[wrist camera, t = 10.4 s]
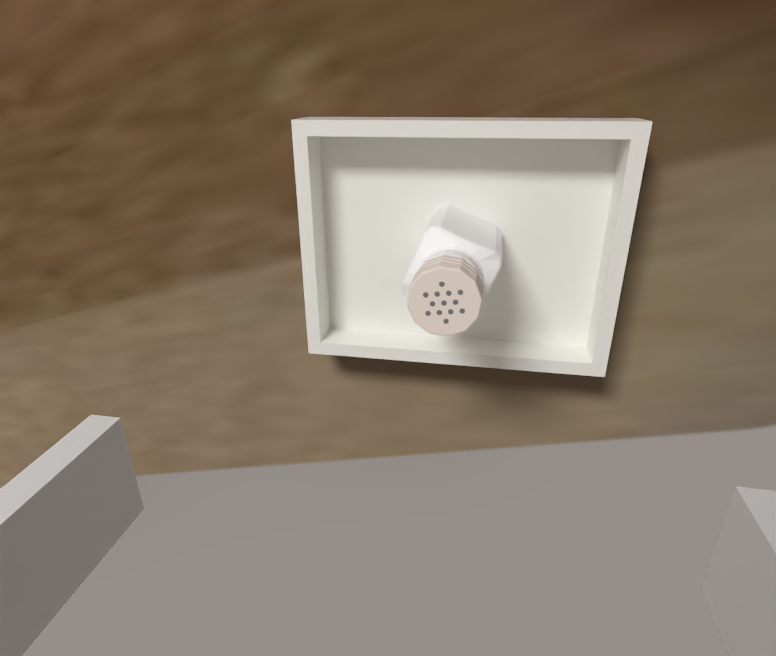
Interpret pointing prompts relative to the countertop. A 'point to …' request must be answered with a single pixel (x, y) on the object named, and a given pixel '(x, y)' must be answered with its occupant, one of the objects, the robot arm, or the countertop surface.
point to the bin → (486, 200)
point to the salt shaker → (452, 270)
